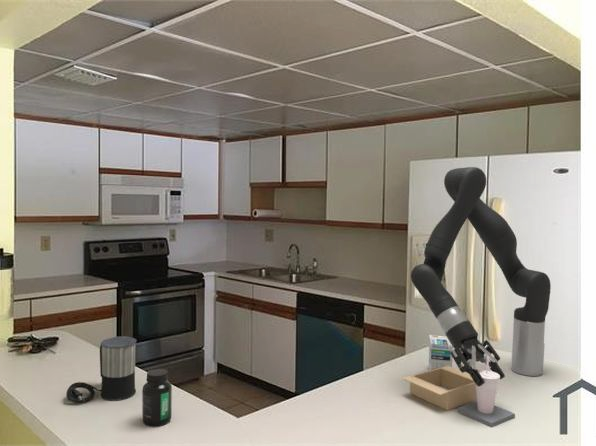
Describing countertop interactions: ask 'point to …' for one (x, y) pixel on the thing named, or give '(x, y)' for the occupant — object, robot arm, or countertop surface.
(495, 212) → the robot arm
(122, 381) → the milk frother
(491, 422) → the mat
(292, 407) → the countertop surface
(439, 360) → the light bulb box
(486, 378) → the smoothie
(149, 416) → the supplement bottle
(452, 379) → the carton
